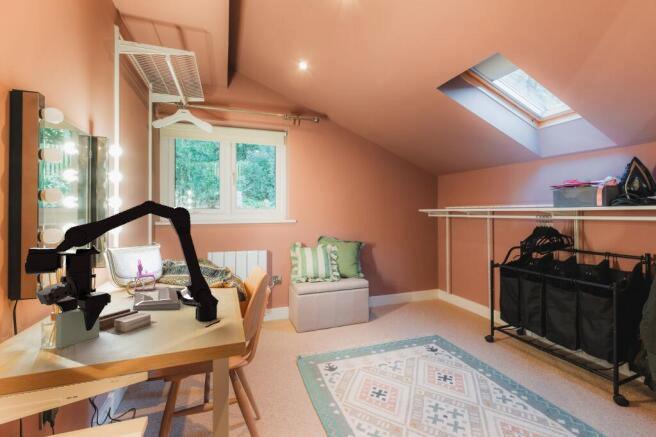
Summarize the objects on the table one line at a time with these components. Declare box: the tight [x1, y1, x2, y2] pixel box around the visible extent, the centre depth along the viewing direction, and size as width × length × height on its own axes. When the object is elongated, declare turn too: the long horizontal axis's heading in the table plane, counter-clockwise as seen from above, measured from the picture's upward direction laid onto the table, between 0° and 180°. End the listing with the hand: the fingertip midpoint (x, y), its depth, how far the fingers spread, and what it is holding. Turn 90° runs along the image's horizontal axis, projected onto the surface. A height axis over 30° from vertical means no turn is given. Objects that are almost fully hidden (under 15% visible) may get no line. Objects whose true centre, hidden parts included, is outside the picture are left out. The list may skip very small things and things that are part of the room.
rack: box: [99, 308, 157, 336], centre depth 95 cm, size 16×12×4 cm
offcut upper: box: [114, 312, 152, 327], centre depth 93 cm, size 5×8×2 cm, turn 156°
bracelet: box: [125, 277, 145, 297], centre depth 135 cm, size 7×3×8 cm, turn 116°
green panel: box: [55, 309, 100, 349], centre depth 82 cm, size 2×9×10 cm, turn 157°
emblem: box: [132, 286, 198, 311], centre depth 122 cm, size 28×5×28 cm
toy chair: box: [133, 258, 156, 293], centre depth 147 cm, size 8×9×15 cm
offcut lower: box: [114, 319, 152, 333], centre depth 93 cm, size 5×8×2 cm, turn 157°
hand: (78, 327), depth 82 cm, fingers open, 9 cm apart
